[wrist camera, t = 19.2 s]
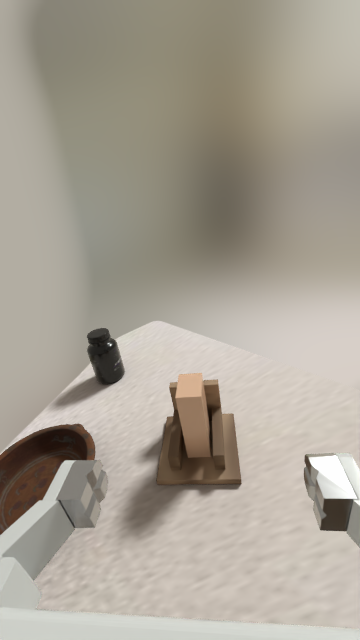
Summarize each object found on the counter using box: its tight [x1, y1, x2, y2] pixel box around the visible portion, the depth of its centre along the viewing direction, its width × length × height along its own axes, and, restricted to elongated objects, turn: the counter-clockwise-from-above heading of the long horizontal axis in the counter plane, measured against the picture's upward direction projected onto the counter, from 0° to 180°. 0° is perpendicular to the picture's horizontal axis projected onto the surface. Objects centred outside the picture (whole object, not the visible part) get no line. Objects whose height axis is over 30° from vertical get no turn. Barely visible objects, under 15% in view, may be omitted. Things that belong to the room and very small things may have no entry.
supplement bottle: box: [87, 328, 125, 384], centre depth 63 cm, size 7×7×12 cm
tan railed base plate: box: [156, 380, 241, 485], centre depth 42 cm, size 12×12×9 cm
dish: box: [0, 424, 95, 535], centre depth 40 cm, size 17×22×5 cm
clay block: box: [175, 373, 211, 458], centre depth 41 cm, size 4×5×12 cm
